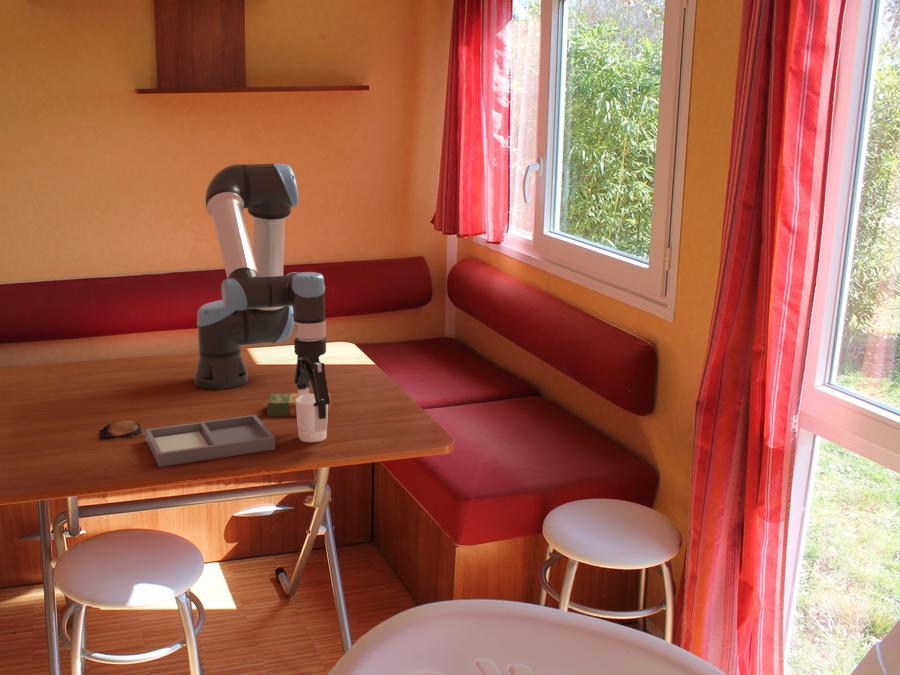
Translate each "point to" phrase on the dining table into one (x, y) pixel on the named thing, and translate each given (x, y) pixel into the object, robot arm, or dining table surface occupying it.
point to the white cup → (308, 419)
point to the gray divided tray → (208, 440)
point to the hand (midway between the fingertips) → (312, 422)
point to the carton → (285, 404)
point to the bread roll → (121, 430)
